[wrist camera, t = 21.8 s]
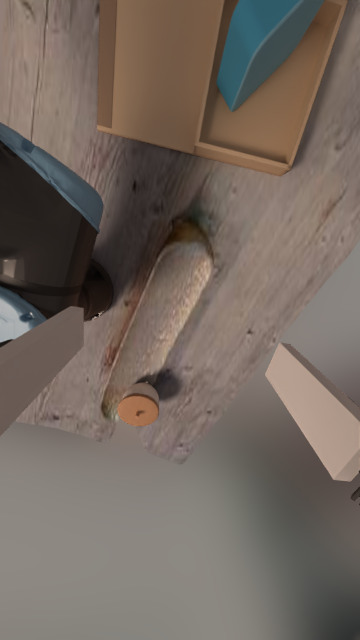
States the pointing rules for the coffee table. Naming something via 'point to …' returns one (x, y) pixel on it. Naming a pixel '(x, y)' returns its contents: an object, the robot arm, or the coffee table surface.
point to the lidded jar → (139, 405)
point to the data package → (260, 43)
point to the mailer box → (204, 82)
